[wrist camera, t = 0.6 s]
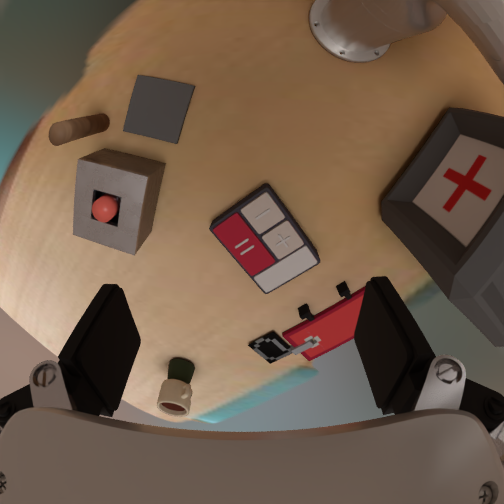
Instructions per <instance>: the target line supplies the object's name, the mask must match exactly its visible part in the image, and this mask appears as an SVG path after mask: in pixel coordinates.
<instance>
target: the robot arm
mask: <svg viewBox="0 0 504 504" xmlns="http://www.w3.org/2000/svg"><path fill="white" fill-rule="evenodd" d="M447 14H448V15H449V16H450V17H451V18H452V19H453V20H454V21H455V22H456V23H457V24H458V25H459V26H460V27H461V28H462V29H463V31H464V32H465V33H466V34H467V35H468V37H469V38H470V39H471V40H472V42H473V43H474V44H475V46H476V47H477V48H478V49H479V51H480V52H481V54H482V55H483V56H484V58H485V59H486V61H487V62H488V63H489V65H490V66H491V68H492V69H493V71H494V72H495V74H496V75H497V76H498V78H499V79H500V80H501V82H502V83H503V84H504V0H315V2H314V3H313V5H312V7H311V9H310V14H309V24H310V27H311V31H312V33H313V35H314V37H315V38H316V40H317V41H318V42H319V44H320V45H321V46H322V47H323V48H325V49H326V50H327V51H328V52H330V53H331V54H332V55H334V56H336V57H338V58H340V59H343V60H346V61H349V62H355V63H364V62H369V61H373V60H376V59H378V58H379V57H381V56H382V55H383V54H384V53H385V52H386V51H387V50H388V48H389V46H390V43H393V42H396V41H399V40H402V39H405V38H408V37H411V36H415V35H418V34H422V33H425V32H428V31H431V30H433V29H435V28H436V27H437V26H439V25H440V24H441V23H442V21H443V20H444V18H445V17H446V15H447ZM314 24H316V25H317V27H316V26H314ZM339 52H341V53H342V55H340V53H339ZM374 52H375V53H376V55H375V53H374ZM354 340H355V343H356V346H357V349H358V351H359V354H360V357H361V360H362V363H363V365H364V369H365V372H366V375H367V378H368V381H369V384H370V387H371V390H372V393H373V396H374V399H375V402H376V405H377V407H378V408H381V409H382V412H383V415H386V414H390V413H394V414H395V415H391V416H387V417H382V418H377V419H372V420H366V421H361V422H355V423H348V424H343V425H335V426H328V427H320V428H311V429H300V430H287V431H267V432H218V431H217V432H216V431H198V430H186V429H175V428H166V427H158V426H151V425H144V424H137V423H132V422H126V421H120V420H115V419H110V418H105V417H100V416H99V415H104V416H109V417H112V416H113V412H114V411H116V410H117V409H118V407H119V404H120V401H121V398H122V395H123V392H124V389H125V386H126V383H127V380H128V377H129V374H130V372H131V369H132V366H133V363H134V360H135V358H136V355H137V352H138V350H139V347H140V343H141V339H140V335H139V333H138V330H137V328H136V325H135V322H134V320H133V317H132V314H131V311H130V309H129V306H128V303H127V300H126V297H125V294H124V291H123V289H122V288H120V287H119V286H118V285H117V284H103V285H102V287H101V288H100V290H99V291H98V293H97V294H96V296H95V297H94V299H93V300H92V302H91V303H90V305H89V306H88V308H87V309H86V311H85V313H84V314H83V316H82V317H81V319H80V320H79V322H78V324H77V325H76V327H75V329H74V330H73V332H72V334H71V335H70V337H69V339H68V340H67V342H66V344H65V345H64V347H63V349H62V351H61V352H60V354H59V356H58V358H59V359H60V360H59V362H58V364H57V363H56V362H54V361H51V360H50V361H48V360H47V361H43V362H41V363H39V364H38V365H37V366H36V367H35V368H34V369H33V370H32V372H31V374H30V381H29V382H30V384H29V385H27V386H25V387H23V388H21V389H19V390H17V391H15V392H13V393H11V394H9V395H7V396H5V397H3V398H2V399H1V400H0V504H504V397H503V396H502V395H501V394H500V393H498V392H496V391H494V390H491V389H489V388H487V387H485V386H482V385H480V384H478V383H476V382H473V381H471V380H469V379H467V378H466V371H465V368H464V366H463V364H462V363H461V362H460V361H459V360H458V359H456V358H455V357H453V356H449V355H441V356H438V357H436V356H435V354H434V352H433V351H432V349H431V347H430V345H429V343H428V342H427V340H426V338H425V336H424V335H423V333H422V331H421V330H420V328H419V326H418V324H417V323H416V321H415V319H414V318H413V316H412V314H411V313H410V311H409V310H408V308H407V307H406V305H405V304H404V302H403V300H402V299H401V297H400V296H399V294H398V293H397V291H396V290H395V288H394V287H393V285H392V283H391V282H390V280H389V279H388V278H387V277H386V276H382V277H372V278H371V280H370V281H368V282H367V283H366V287H365V291H364V296H363V300H362V304H361V308H360V312H359V316H358V320H357V324H356V328H355V332H354Z"/></svg>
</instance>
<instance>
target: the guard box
mask: <svg viewBox="0 0 504 504" xmlns="http://www.w3.org/2000/svg"><path fill="white" fill-rule="evenodd" d="M165 165H166V163H162V162H158V161H155V160H151V159H147V158H143V157H139V156H135V155H131V154H127V153H123V152H119V151H114V150H110V149H106V148H104V149H101V150H99V151H96V152H94V153H91V154H89V155H87V156H84V157H82V158H80V159H78V165H77V174H76V184H75V198H74V218H73V235H76V236H78V237H81V238H84V239H87V240H90V241H93V242H96V243H99V244H102V245H105V246H108V247H111V248H114V249H117V250H120V251H123V252H126V253H129V254H132V255H135V254H136V253H137V251H138V250H139V248H140V247H141V246H142V244H143V243H144V241H145V240H146V238H147V237H148V236H149V234H150V233H151V231H152V226H153V220H154V215H155V210H156V205H157V200H158V195H159V191H160V186H161V182H162V177H163V173H164V169H165ZM106 193H109V194H112V195H116V196H119V198H120V200H121V204H120V211H119V212H118V213H117V214H116V215H115V216H114V217H113V218H112V219H111V220H109V221H108V222H100V221H98V220H97V219H96V218H95V217H94V215H93V213H92V205H93V203H94V202H95V201H96V200H97V199H99V198H100V197H101V196H103V195H104V194H106Z"/></svg>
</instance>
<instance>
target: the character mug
mask: <svg viewBox="0 0 504 504" xmlns="http://www.w3.org/2000/svg"><path fill="white" fill-rule="evenodd" d="M194 369H195V367H194V365H193V364H191V363H190V362H187V361H185V360H181V359H173V360H171V361H170V363H169V369H168V379H167V380H164V382H163V383H162V386H161V390H160V393H159V397H158V402H157V408H158V409H159V410H160V411H162V412H163V413H165V414H168V415H171V416H177V417H183V416H187V415H188V414H189V409H190V405H191V401H190V398H191V396H192V389H191V385H190V382H191V379H192V376H193V373H194Z"/></svg>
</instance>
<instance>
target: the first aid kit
mask: <svg viewBox="0 0 504 504" xmlns="http://www.w3.org/2000/svg"><path fill="white" fill-rule="evenodd" d="M381 205H382V221H383V222H384V223H385V224H386V225H387V226H388V227H389V228H390V229H391V230H392V231H393V232H394V234H395V235H396V236H397V237H398V238H399V239H400V240H401V241H402V243H403V244H404V245H405V246H406V247H407V248H408V249H409V251H410V252H411V253H412V254H413V255H414V257H415V258H416V259H417V260H418V261H419V263H420V264H421V265H422V266H423V267H424V269H425V270H426V271H427V272H428V274H429V275H430V276H431V277H432V279H433V280H434V281H435V282H436V284H437V285H438V286H439V288H440V289H441V290H442V292H443V293H444V294H445V295H446V297H447V298H448V299H449V301H450V302H451V303H453V304H454V305H455V306H456V307H457V308H458V309H459V310H460V311H461V312H462V313H463V314H464V315H465V316H466V317H467V318H468V319H469V320H470V321H471V322H472V323H473V324H474V325H475V326H476V327H477V328H478V329H479V330H480V331H481V332H482V333H483V334H484V335H485V336H486V338H487V339H488V340H489V341H490V342H491V343H492V344H493V345H494V346H495V347H502V346H504V117H502V116H498V115H493V114H489V113H484V112H479V111H474V110H469V109H463V108H449V109H448V111H447V112H446V114H445V115H444V117H443V118H442V120H441V121H440V123H439V124H438V126H437V127H436V128H435V130H434V131H433V133H432V134H431V136H430V137H429V139H428V140H427V141H426V143H425V144H424V146H423V147H422V148H421V150H420V151H419V153H418V154H417V155H416V157H415V158H414V160H413V161H412V162H411V164H410V165H409V166H408V168H407V169H406V170H405V172H404V173H403V174H402V176H401V177H400V178H399V180H398V181H397V182H396V184H395V185H394V186H393V188H392V189H391V190H390V191H389V193H388V194H387V195H386V197H385V198H384V199H383V200H382V202H381Z"/></svg>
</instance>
